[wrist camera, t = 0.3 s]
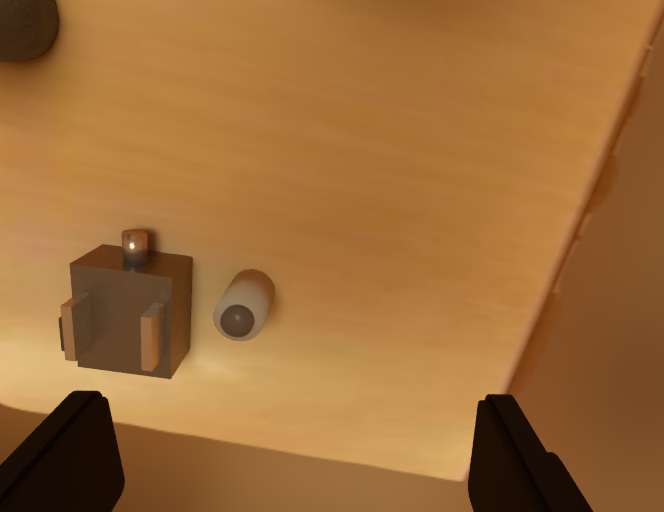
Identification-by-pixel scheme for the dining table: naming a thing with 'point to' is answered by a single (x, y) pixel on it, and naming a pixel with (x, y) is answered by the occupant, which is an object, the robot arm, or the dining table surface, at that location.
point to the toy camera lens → (244, 305)
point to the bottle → (26, 28)
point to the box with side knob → (128, 309)
